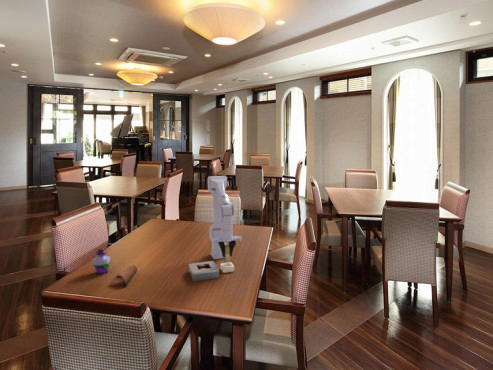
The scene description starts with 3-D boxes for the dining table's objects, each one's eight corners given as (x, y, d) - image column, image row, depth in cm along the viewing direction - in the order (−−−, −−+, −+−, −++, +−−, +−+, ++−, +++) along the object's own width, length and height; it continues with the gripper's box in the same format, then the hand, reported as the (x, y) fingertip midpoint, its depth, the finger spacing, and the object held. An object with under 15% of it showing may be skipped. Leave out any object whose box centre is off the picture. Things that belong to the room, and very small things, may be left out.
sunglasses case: (119, 271, 164) (126, 260, 163) (132, 278, 165) (139, 267, 164) (106, 288, 146) (113, 275, 146) (121, 295, 147) (128, 282, 146)
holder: (220, 268, 167) (220, 263, 167) (231, 267, 169) (231, 262, 169) (223, 272, 162) (223, 267, 162) (234, 271, 164) (234, 266, 163)
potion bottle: (105, 276, 158) (103, 252, 157) (88, 275, 160) (86, 250, 158) (115, 269, 167) (114, 246, 165) (100, 268, 169) (98, 245, 167)
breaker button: (199, 271, 161) (199, 268, 161) (206, 270, 162) (206, 267, 162) (201, 274, 158) (201, 271, 158) (207, 273, 159) (207, 270, 159)
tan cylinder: (223, 260, 166) (223, 244, 165) (229, 259, 166) (228, 244, 165) (225, 262, 163) (224, 246, 162) (230, 261, 164) (230, 245, 163)
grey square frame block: (189, 271, 164) (189, 263, 163) (213, 268, 167) (213, 260, 167) (193, 281, 152) (193, 273, 152) (219, 277, 156) (219, 269, 156)
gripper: (213, 232, 157) (214, 260, 158) (243, 229, 161) (243, 257, 163) (210, 228, 163) (211, 255, 165) (239, 226, 168) (239, 252, 170)
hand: (227, 256), depth 165 cm, fingers closed on tan cylinder, 3 cm apart
